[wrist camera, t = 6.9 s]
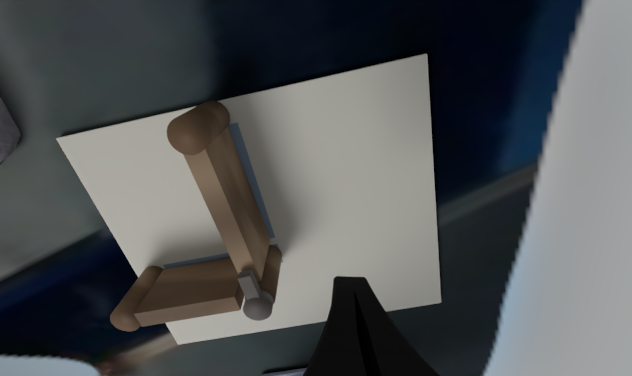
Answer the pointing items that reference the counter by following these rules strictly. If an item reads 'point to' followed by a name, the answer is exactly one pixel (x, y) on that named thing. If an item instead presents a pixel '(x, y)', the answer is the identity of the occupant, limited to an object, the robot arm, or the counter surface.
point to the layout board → (288, 192)
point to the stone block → (7, 132)
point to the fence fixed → (189, 292)
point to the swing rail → (226, 196)
